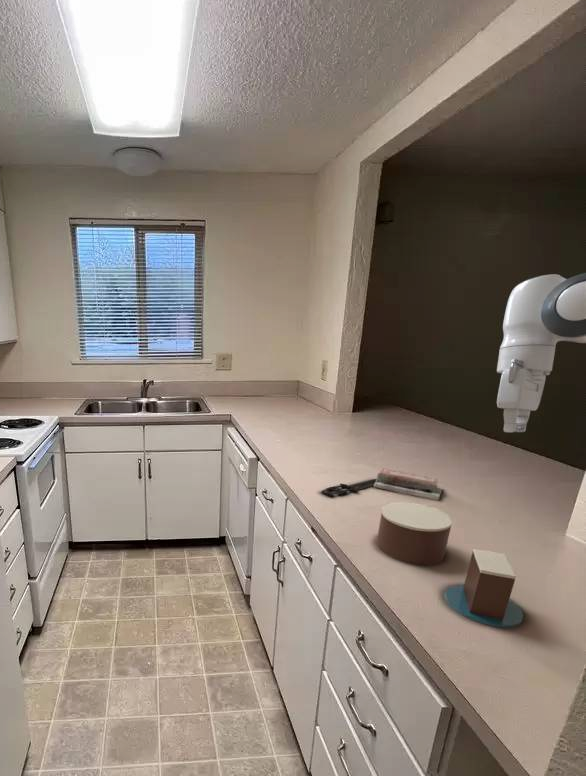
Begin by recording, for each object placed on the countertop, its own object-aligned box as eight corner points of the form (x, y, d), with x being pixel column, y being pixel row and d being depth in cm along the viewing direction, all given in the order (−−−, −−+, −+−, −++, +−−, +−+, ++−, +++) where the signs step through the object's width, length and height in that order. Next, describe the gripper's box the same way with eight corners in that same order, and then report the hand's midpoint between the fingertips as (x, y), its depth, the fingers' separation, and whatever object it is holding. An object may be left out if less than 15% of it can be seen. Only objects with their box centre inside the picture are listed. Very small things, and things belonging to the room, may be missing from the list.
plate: (512, 597, 83) (513, 593, 83) (530, 636, 73) (531, 632, 73) (441, 582, 88) (442, 579, 88) (448, 618, 78) (449, 614, 77)
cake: (440, 542, 104) (448, 507, 100) (447, 571, 92) (456, 534, 89) (376, 531, 109) (382, 498, 106) (375, 558, 97) (381, 522, 94)
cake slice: (493, 594, 83) (505, 553, 80) (503, 620, 76) (516, 576, 73) (463, 588, 85) (473, 548, 82) (469, 612, 78) (481, 569, 75)
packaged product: (375, 473, 133) (382, 464, 141) (372, 487, 135) (379, 478, 143) (442, 486, 124) (445, 476, 132) (438, 501, 126) (441, 490, 133)
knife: (378, 480, 142) (379, 476, 142) (394, 487, 137) (395, 482, 136) (316, 492, 133) (316, 487, 133) (330, 499, 128) (331, 495, 127)
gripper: (535, 356, 78) (523, 433, 80) (552, 367, 92) (542, 432, 94) (492, 358, 82) (483, 431, 84) (515, 368, 96) (506, 431, 98)
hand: (514, 432), depth 89 cm, fingers open, 8 cm apart
